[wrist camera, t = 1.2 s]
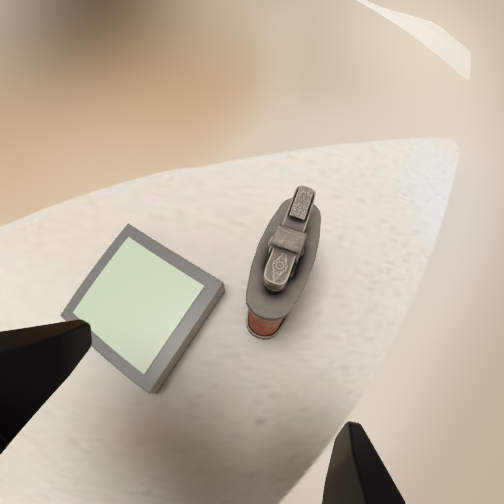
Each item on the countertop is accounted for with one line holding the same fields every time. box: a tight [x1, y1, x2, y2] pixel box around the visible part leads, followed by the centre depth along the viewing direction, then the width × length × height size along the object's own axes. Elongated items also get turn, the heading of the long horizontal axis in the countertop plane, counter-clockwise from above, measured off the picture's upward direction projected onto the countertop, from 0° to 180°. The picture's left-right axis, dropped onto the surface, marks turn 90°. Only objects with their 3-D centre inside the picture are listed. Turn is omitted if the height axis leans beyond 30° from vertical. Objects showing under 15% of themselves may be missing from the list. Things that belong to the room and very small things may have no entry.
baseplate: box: [61, 224, 225, 393], centre depth 22 cm, size 10×10×2 cm
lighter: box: [246, 186, 321, 340], centre depth 19 cm, size 8×3×10 cm, turn 159°
